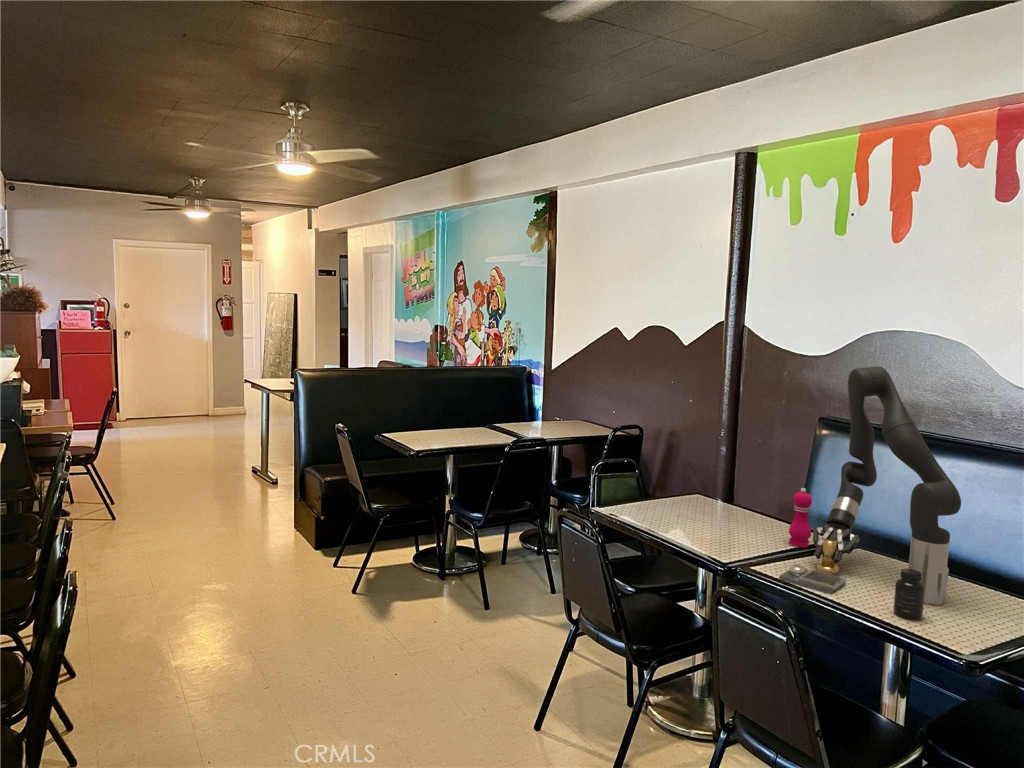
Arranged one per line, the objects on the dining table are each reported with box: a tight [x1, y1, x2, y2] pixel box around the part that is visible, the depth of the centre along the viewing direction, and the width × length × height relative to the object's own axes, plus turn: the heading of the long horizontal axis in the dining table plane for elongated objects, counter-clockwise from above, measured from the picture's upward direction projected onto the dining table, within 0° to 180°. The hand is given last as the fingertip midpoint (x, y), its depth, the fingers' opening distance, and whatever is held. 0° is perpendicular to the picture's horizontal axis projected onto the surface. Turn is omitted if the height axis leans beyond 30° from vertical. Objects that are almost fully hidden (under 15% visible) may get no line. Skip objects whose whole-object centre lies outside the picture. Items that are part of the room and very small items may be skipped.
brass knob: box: [816, 539, 840, 576], centre depth 222 cm, size 6×6×10 cm
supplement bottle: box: [893, 568, 925, 621], centre depth 190 cm, size 7×7×12 cm
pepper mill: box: [788, 487, 813, 548], centre depth 248 cm, size 7×7×20 cm
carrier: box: [778, 564, 847, 595], centre depth 213 cm, size 15×12×3 cm
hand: (826, 559), depth 220 cm, fingers open, 4 cm apart
